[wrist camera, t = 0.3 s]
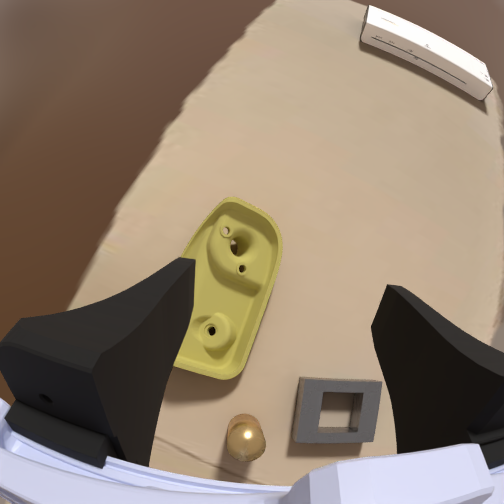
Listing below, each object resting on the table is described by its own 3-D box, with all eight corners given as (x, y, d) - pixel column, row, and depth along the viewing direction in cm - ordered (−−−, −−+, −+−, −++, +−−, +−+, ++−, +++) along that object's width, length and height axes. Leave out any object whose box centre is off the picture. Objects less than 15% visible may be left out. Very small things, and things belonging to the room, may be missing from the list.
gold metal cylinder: (258, 444, 35) (263, 463, 28) (226, 441, 35) (224, 459, 28) (262, 415, 36) (268, 429, 29) (230, 412, 36) (229, 425, 29)
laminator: (358, 41, 58) (365, 21, 52) (362, 20, 61) (368, 2, 55) (481, 103, 56) (493, 88, 50) (474, 75, 60) (485, 61, 54)
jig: (364, 436, 35) (373, 441, 32) (291, 436, 35) (295, 442, 32) (372, 379, 38) (382, 381, 35) (299, 376, 37) (305, 378, 35)
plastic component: (238, 383, 35) (156, 360, 31) (216, 366, 41) (146, 344, 38) (293, 227, 39) (222, 189, 35) (264, 233, 46) (202, 201, 42)
